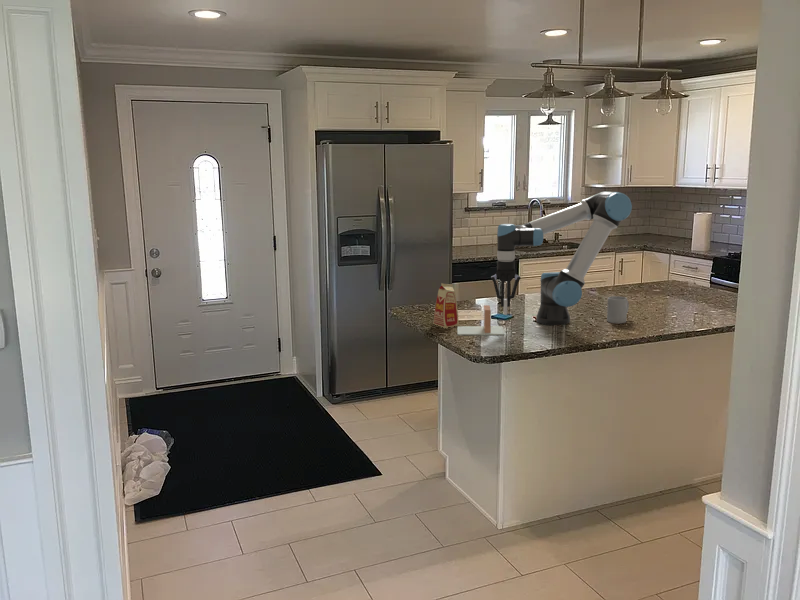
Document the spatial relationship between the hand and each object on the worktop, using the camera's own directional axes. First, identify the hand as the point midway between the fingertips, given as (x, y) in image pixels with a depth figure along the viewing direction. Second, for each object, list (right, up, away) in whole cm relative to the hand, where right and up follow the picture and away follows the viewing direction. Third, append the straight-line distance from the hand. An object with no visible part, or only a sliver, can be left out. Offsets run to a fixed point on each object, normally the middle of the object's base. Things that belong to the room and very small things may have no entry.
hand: (505, 313), depth 296 cm
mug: (+55, -4, +16) cm, 57 cm away
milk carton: (-25, -6, +16) cm, 30 cm away
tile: (-8, -7, +2) cm, 11 cm away
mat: (-11, -8, +2) cm, 13 cm away
